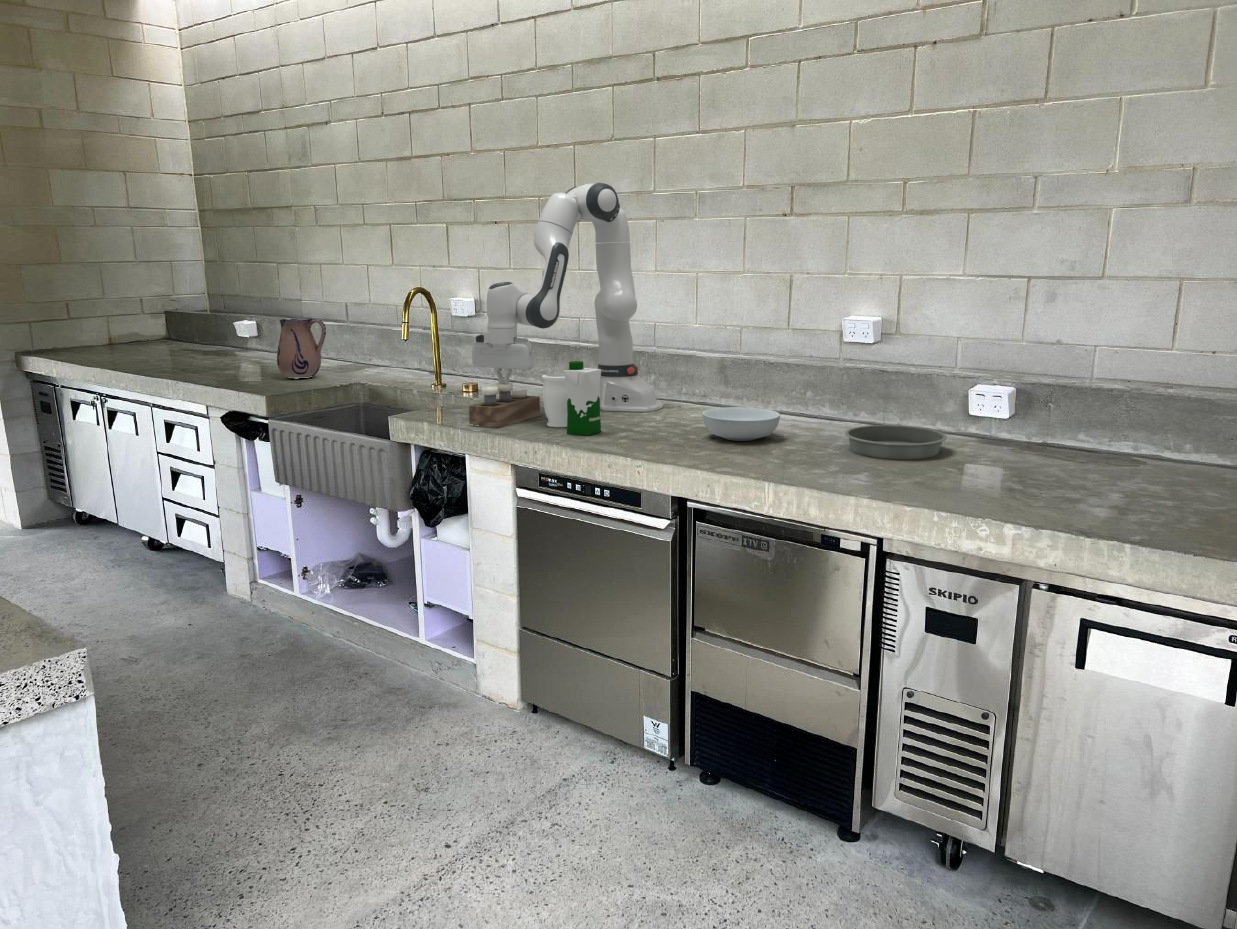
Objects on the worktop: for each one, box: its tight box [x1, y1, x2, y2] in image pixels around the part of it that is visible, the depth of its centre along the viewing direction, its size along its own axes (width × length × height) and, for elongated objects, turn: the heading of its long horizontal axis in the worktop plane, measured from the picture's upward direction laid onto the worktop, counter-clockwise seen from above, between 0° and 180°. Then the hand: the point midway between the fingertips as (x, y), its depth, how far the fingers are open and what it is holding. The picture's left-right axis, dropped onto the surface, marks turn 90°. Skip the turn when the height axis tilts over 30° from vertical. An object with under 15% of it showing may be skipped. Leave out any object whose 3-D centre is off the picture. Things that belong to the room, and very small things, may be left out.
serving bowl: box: [701, 406, 781, 442], centre depth 252 cm, size 21×21×7 cm
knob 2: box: [511, 388, 528, 399], centre depth 290 cm, size 5×5×6 cm
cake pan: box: [844, 424, 948, 460], centre depth 234 cm, size 25×25×4 cm
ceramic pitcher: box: [276, 317, 327, 378], centre depth 390 cm, size 18×21×25 cm
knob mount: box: [468, 395, 541, 429], centre depth 284 cm, size 10×24×6 cm, turn 154°
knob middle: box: [496, 382, 514, 403], centre depth 283 cm, size 5×5×6 cm
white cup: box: [541, 372, 567, 428], centre depth 273 cm, size 11×10×15 cm
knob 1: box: [481, 385, 499, 407], centre depth 276 cm, size 5×5×6 cm
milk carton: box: [563, 360, 602, 437], centre depth 261 cm, size 9×9×20 cm
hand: (503, 383), depth 282 cm, fingers closed
